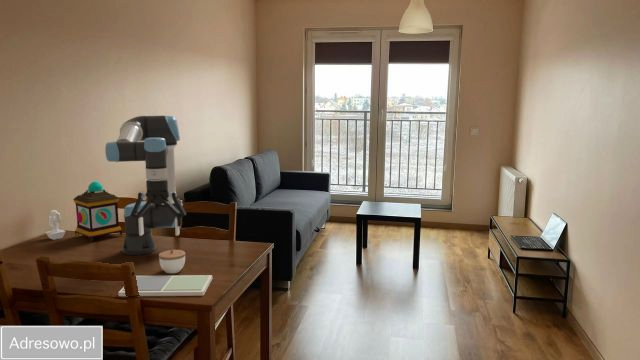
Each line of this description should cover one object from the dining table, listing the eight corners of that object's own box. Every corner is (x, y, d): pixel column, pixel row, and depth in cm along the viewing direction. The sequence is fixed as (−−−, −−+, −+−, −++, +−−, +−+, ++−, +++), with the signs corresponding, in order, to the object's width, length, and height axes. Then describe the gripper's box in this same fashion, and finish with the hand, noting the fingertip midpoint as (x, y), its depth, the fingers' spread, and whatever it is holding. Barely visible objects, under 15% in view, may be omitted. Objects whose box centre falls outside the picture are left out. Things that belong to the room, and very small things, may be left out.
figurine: (58, 235, 252) (56, 208, 250) (67, 238, 247) (65, 210, 245) (44, 238, 247) (42, 210, 244) (53, 241, 241) (50, 212, 239)
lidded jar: (178, 276, 193) (177, 254, 191) (154, 274, 195) (153, 252, 193) (190, 267, 203) (189, 246, 202) (167, 265, 205) (166, 245, 204)
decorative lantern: (108, 229, 264) (104, 177, 260) (126, 235, 252) (122, 180, 247) (71, 237, 249) (66, 181, 244) (88, 244, 237) (84, 185, 232)
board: (118, 296, 172) (118, 291, 172) (135, 279, 189) (134, 275, 189) (203, 295, 173) (203, 290, 173) (212, 278, 190) (212, 274, 190)
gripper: (119, 180, 171) (122, 237, 174) (187, 180, 171) (190, 237, 174) (127, 177, 178) (130, 232, 181) (193, 177, 178) (195, 232, 182)
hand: (159, 234), depth 178 cm, fingers open, 13 cm apart
